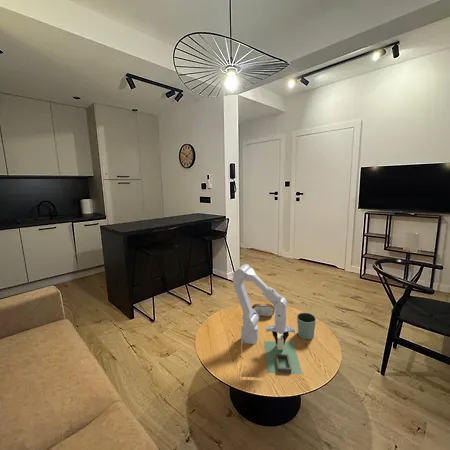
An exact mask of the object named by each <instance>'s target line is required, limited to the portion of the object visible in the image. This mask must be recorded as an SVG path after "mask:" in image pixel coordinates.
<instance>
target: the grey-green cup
mask: <svg viewBox="0 0 450 450" xmlns="http://www.w3.org/2000/svg"><path fill="white" fill-rule="evenodd" d="M296 320H297V321H296V322H297V335H298V337H300V338H301V339H304V340H311V339H313V338H314V337H315V327H316V322H317V318H316V316H315V315H314V314H312V313H309V312H299V313H298V314H297V315H296Z"/></svg>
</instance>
